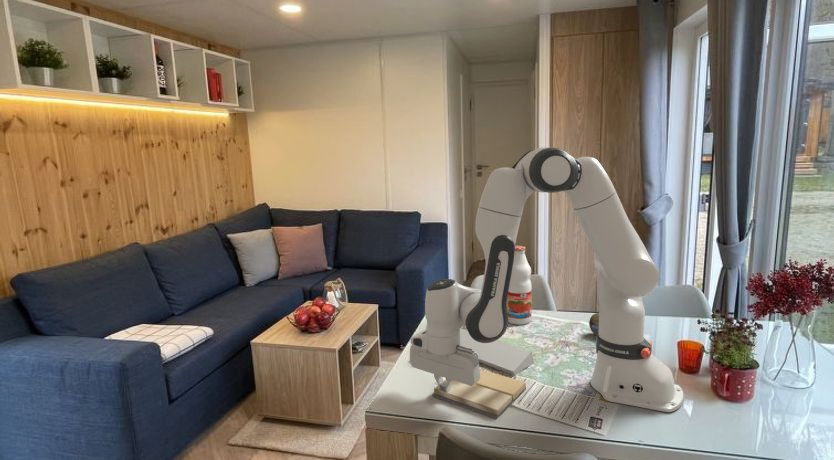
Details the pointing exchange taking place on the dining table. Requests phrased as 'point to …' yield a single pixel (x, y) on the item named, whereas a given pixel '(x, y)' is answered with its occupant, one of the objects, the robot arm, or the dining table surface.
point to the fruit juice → (519, 290)
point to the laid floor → (496, 384)
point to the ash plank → (477, 397)
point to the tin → (594, 323)
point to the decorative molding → (498, 354)
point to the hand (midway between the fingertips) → (444, 390)
